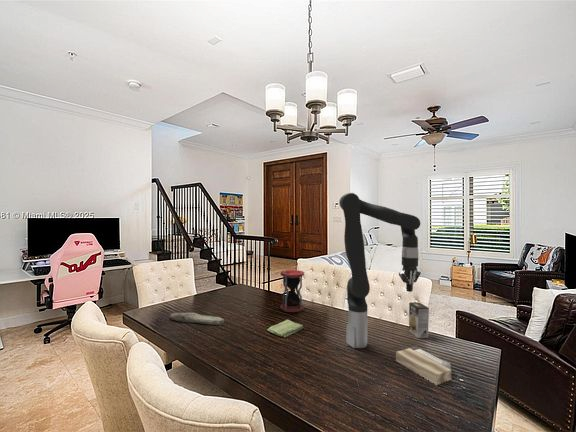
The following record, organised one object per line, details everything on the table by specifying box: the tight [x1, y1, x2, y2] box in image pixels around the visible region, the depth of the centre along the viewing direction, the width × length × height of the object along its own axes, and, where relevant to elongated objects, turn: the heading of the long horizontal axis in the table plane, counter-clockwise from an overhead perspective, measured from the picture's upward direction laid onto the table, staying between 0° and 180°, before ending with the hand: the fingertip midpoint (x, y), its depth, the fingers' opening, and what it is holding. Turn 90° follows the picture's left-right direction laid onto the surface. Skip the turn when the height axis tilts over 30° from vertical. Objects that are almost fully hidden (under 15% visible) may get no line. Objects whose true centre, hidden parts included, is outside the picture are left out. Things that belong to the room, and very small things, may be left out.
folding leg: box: [409, 345, 452, 370], centre depth 123 cm, size 18×4×4 cm, turn 25°
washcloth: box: [266, 319, 304, 339], centre depth 158 cm, size 13×18×3 cm
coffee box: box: [408, 301, 430, 339], centre depth 154 cm, size 9×6×16 cm
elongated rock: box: [169, 312, 225, 326], centre depth 171 cm, size 35×5×10 cm
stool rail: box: [395, 347, 452, 386], centre depth 118 cm, size 8×20×4 cm, turn 25°
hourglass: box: [279, 269, 305, 313], centre depth 195 cm, size 16×16×25 cm
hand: (409, 291), depth 140 cm, fingers closed
